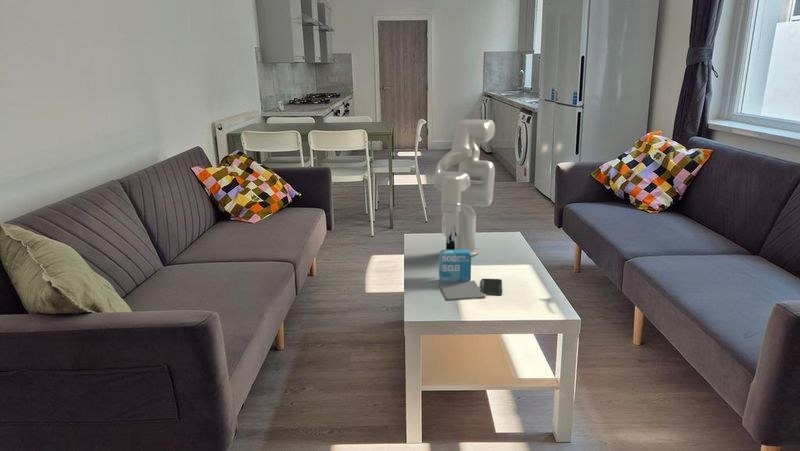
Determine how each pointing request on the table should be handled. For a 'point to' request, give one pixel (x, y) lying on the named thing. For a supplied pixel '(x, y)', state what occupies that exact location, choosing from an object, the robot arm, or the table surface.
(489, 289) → the phone
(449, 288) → the mat
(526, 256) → the table surface
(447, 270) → the data package
